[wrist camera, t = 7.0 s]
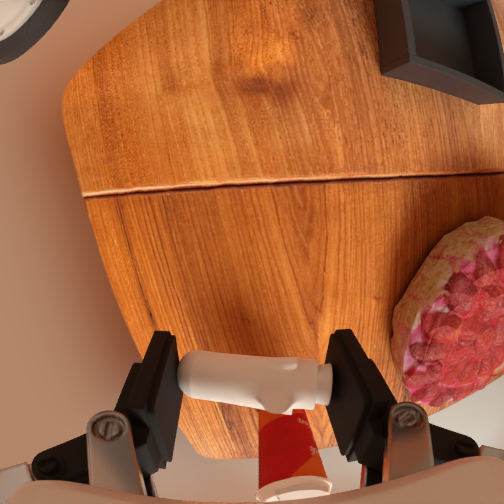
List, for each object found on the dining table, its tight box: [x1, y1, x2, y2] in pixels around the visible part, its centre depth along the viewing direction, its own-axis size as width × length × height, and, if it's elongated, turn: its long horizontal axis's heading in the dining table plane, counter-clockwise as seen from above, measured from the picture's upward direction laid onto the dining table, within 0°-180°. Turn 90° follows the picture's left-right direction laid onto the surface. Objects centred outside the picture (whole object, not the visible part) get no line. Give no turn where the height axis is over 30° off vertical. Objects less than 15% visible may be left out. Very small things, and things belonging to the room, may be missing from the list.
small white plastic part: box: [177, 350, 333, 415], centre depth 10 cm, size 4×6×3 cm, turn 66°
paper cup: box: [256, 409, 332, 502], centre depth 27 cm, size 8×8×14 cm
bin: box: [373, 0, 504, 105], centre depth 18 cm, size 14×14×6 cm
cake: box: [390, 216, 504, 407], centre depth 27 cm, size 25×25×8 cm
